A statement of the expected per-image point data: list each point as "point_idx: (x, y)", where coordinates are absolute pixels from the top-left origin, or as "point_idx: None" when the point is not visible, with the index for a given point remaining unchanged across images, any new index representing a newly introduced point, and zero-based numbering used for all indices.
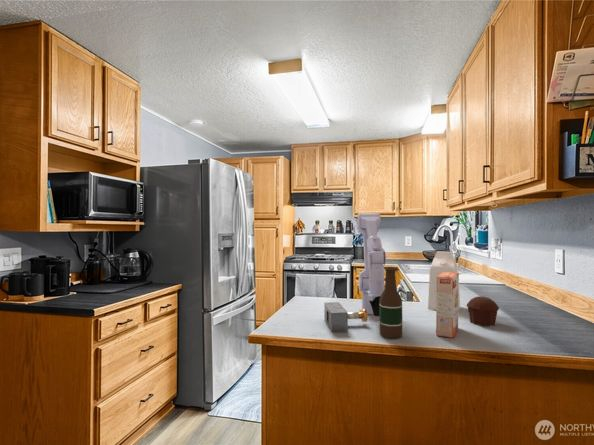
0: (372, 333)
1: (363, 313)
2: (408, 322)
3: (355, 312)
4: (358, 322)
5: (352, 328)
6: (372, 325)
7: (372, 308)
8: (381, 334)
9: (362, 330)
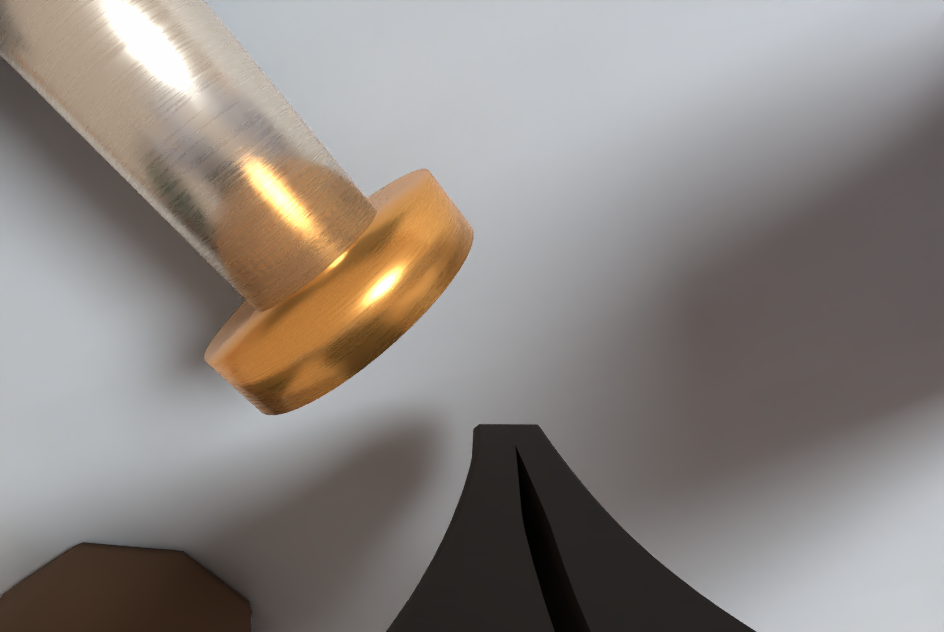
0: (52, 462)
1: (230, 339)
2: None
3: (143, 139)
4: (420, 93)
5: (17, 137)
6: (388, 351)
7: (455, 516)
8: (15, 589)
9: (58, 316)
